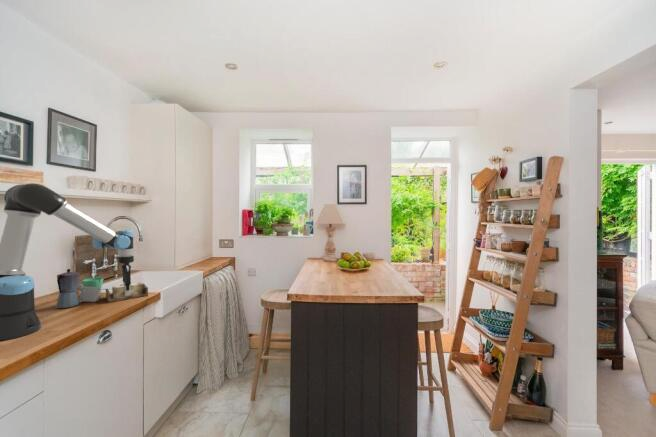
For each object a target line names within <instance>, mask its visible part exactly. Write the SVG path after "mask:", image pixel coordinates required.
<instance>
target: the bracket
mask: <svg viewBox="0 0 656 437" xmlns="http://www.w3.org/2000/svg"><path fill="white" fill-rule="evenodd" d="M98 289H99V291H98ZM77 291H79V292H80V295H78V300H79V304H80V303H81V302H90V303H91V302H93V303H95V302H97V301H99V300H101V294H102V293H101V292H102V287H101V286H100V287H84V286H83V284H79V283H78V287H77Z"/></svg>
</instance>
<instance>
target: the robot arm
mask: <svg viewBox="0 0 656 437" xmlns="http://www.w3.org/2000/svg"><path fill="white" fill-rule="evenodd" d="M3 200H4V203H5V204H4V208H3V212H4V213H5V214H6V215H7V217H6V220H5V223H4V227H3V231H2V236H1V238H0V341H1V342H2V341H6V340H8V341H9V340H11V339H17V338H21V337H25V336H28V335H30V334H33V333H36V332H38V331H39V330H41V328H42V322H41V320H40V319H39V316H38V314H37V312H36V308H35V307H36V306H35V282H34V278H33V277H32V276H30V275H26V272H25V271H23V266H24V262H25V257H26V255H27V251H28V247H29V243H30V239H31V234H32V230H33V228H34V223H35V219H36V218H39V217H40V216H41V214H42V213H44V214H46V215H47V216H55V217H57V218H58V219H60V220H61V221H63V222H66V223H67V224H69V225H71V226H73V227H74V228H77V229H78V230H80V231H82V232H84V233H85V234H87V235H89V236H91V237H92V240H91V244H92V247H93V248H94V249H96V250H99V249H101V250H102V249H108V250H109V249H111V250H117V258H118V259H117V261H118V264H122V265H121V272H122V285H125V296H129V295H131V293H130V284H132V281H131V279H132V278H131V272H132V271H131V269H132V268H131V267H132V266H131V264H130V263H134V261H135V258H134V257H135V256H134V252H135V249H134V232H133V230H132V229H131V230H130V229H125V230H124V229H123V230H122V229H121V230H117V232H116V231H115V230H113V229H111V228H110V227H108V226H107V225H105V224H104V223H102V222H100V221H99V220H97V219H95V218H94V217H92V216H90V215H88V214H87V213H85V212H84V211H82V210H80V209H78V208H77V207H75V206H74V205H72V204H70V203H69V202H68V200H67V199H66V198H65V197H63V196H62V195H60V194H59V193H57V192H55V191H54V190H53V189H51V188H49V187H47V186H45V185H42V184H40V183H33V182H31V183H24V184H16V185H13V186H11V187H10V188H8V189H7V190H6V191H5V193H4V196H3Z"/></svg>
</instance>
